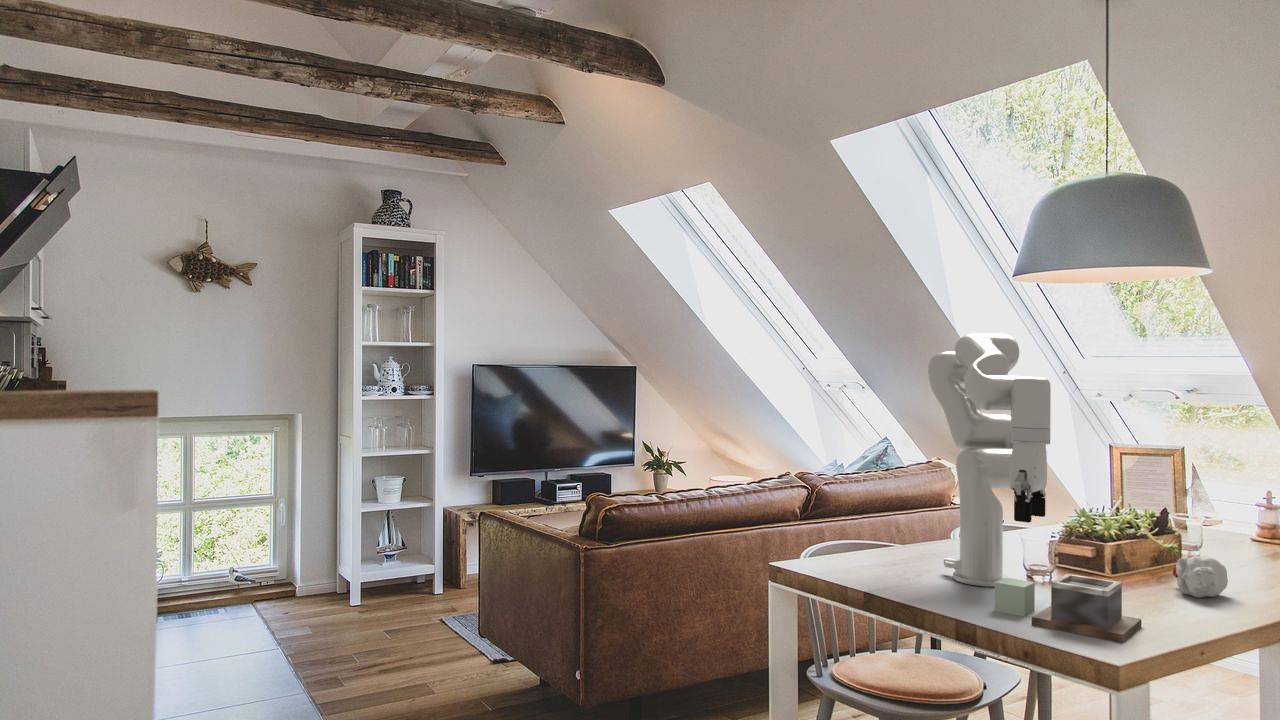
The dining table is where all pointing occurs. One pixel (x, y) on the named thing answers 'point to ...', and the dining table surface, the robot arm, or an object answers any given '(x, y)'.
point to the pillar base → (1089, 630)
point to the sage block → (1015, 596)
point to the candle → (1200, 576)
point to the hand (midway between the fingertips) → (1029, 518)
